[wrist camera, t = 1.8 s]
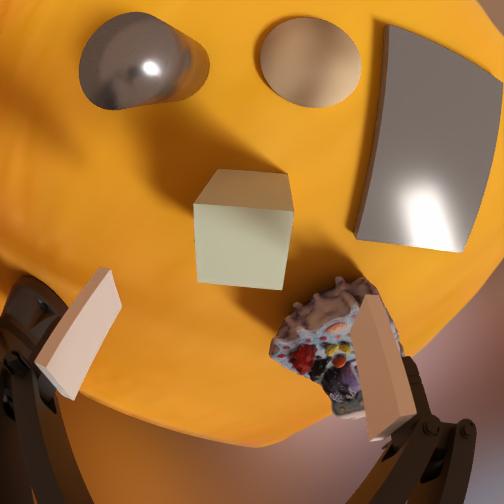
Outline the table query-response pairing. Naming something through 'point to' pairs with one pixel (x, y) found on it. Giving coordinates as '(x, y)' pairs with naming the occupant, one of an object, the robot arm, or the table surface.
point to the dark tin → (140, 63)
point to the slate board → (428, 146)
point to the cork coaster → (310, 62)
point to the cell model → (328, 343)
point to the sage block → (243, 229)
